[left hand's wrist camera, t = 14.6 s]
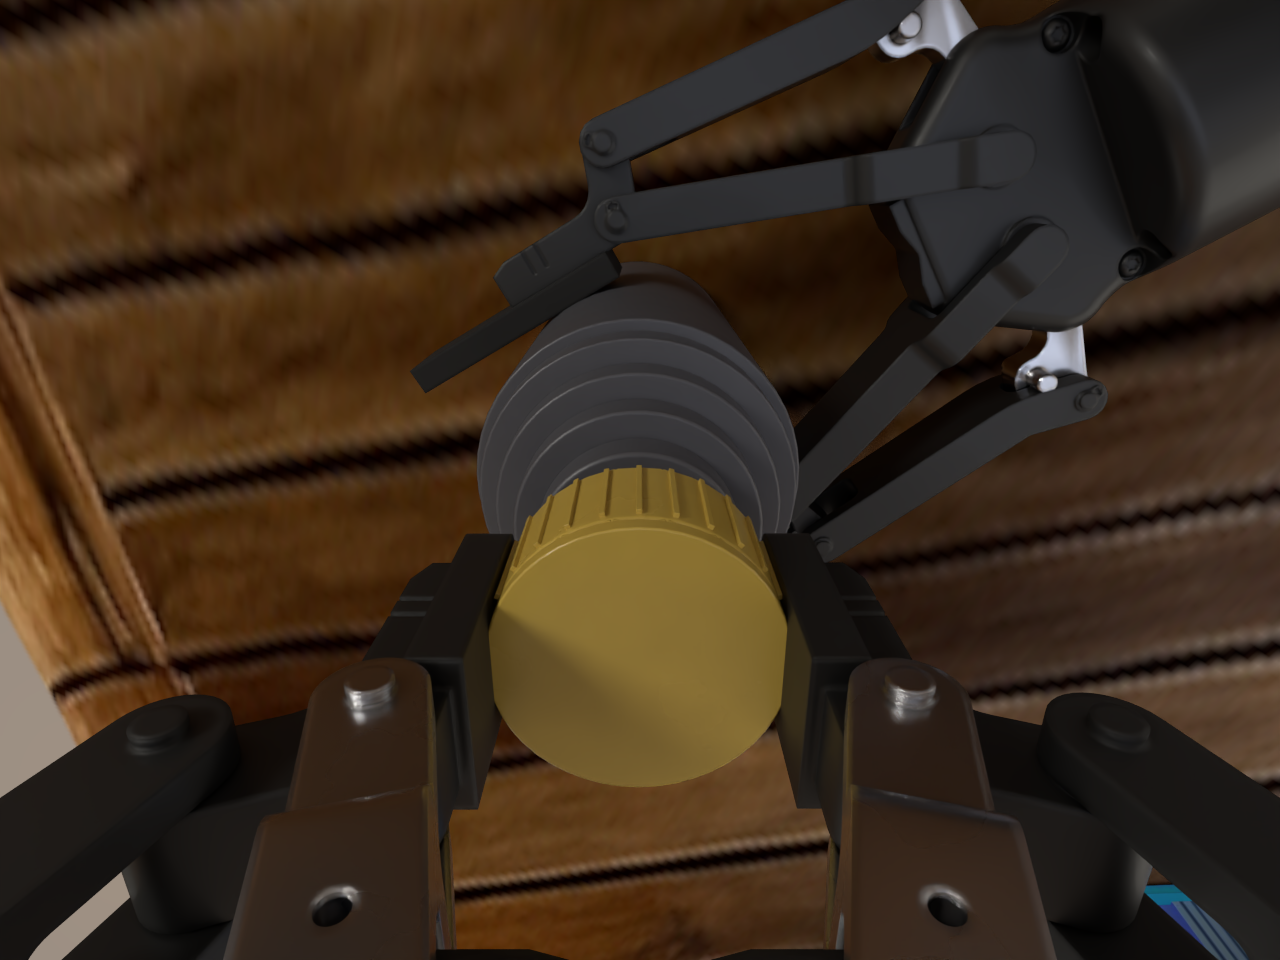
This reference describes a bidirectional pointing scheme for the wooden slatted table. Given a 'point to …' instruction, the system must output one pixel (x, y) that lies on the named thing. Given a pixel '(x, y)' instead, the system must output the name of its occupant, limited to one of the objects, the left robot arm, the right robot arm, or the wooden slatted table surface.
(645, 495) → the cap
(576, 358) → the bottle
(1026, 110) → the right robot arm
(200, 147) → the wooden slatted table surface
